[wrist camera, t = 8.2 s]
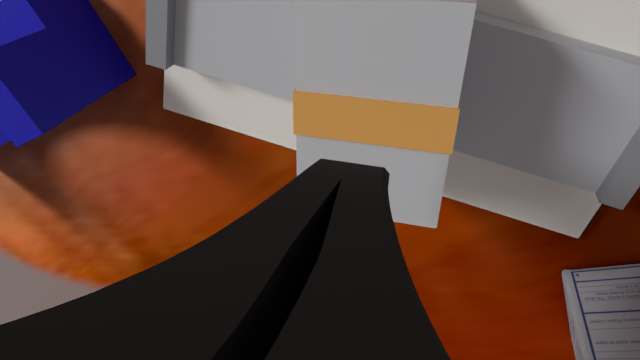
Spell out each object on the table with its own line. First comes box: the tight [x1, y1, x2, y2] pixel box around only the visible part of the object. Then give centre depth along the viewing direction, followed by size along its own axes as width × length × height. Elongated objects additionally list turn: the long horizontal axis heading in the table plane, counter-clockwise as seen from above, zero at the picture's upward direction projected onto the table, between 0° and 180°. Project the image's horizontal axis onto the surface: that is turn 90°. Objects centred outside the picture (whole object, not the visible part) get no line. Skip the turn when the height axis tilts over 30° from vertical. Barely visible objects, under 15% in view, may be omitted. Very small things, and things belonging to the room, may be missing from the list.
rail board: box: [146, 0, 640, 238], centre depth 17 cm, size 18×10×2 cm, turn 77°
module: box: [293, 0, 477, 228], centre depth 14 cm, size 4×6×5 cm
